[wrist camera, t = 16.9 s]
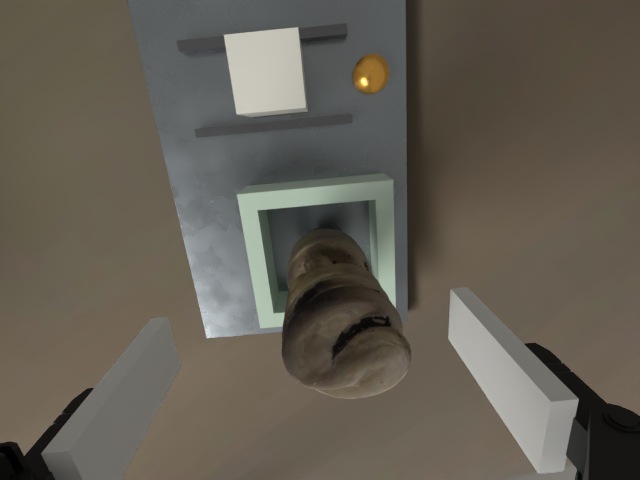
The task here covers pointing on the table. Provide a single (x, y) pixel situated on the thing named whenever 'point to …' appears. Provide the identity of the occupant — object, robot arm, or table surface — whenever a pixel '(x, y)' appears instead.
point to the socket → (305, 194)
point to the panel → (274, 133)
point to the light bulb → (340, 320)
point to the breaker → (267, 72)
